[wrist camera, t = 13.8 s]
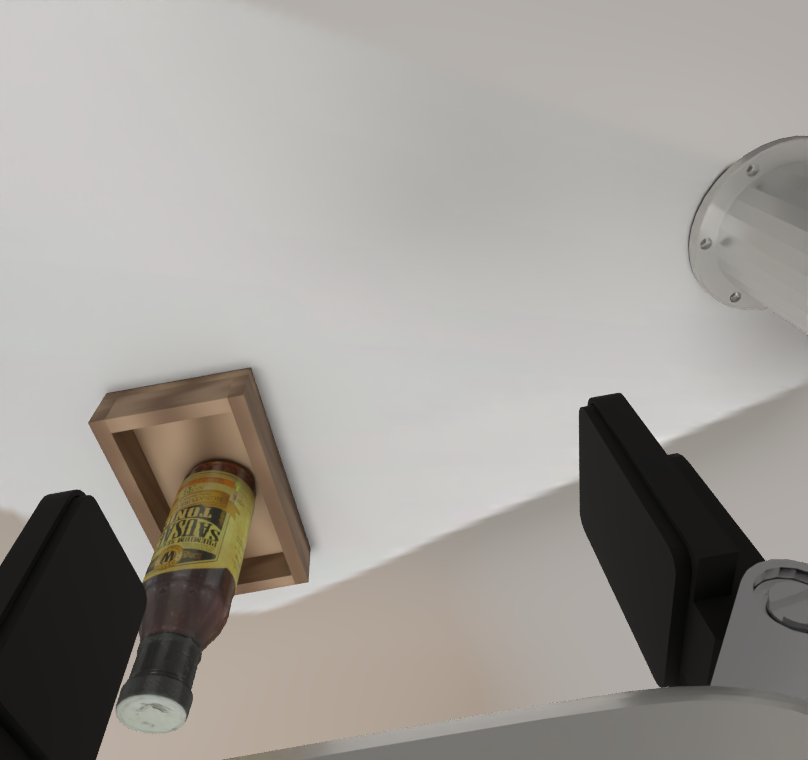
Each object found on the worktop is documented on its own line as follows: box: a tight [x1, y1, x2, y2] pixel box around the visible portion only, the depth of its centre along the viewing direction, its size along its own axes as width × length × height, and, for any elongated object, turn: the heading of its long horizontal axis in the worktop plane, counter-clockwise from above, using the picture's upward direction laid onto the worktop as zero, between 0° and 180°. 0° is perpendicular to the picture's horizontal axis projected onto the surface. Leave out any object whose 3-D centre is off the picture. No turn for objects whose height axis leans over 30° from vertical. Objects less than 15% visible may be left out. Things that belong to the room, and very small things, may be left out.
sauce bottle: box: [116, 461, 256, 734], centre depth 43 cm, size 7×6×20 cm
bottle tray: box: [88, 368, 310, 595], centre depth 51 cm, size 11×20×4 cm, turn 9°
